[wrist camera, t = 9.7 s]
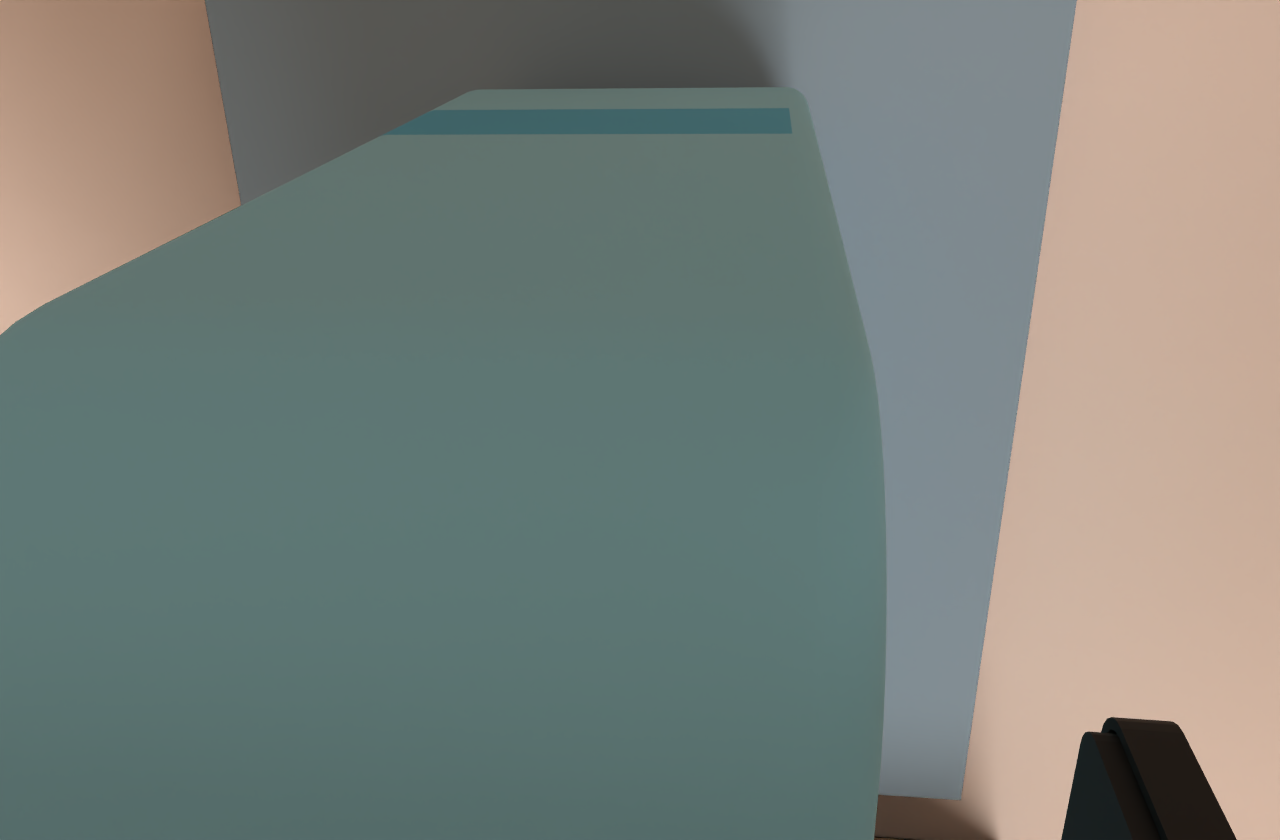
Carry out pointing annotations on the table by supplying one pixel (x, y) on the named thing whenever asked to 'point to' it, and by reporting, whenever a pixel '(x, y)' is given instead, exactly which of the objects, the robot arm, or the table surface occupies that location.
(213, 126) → the table surface
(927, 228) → the mat
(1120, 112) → the table surface
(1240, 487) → the table surface
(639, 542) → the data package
